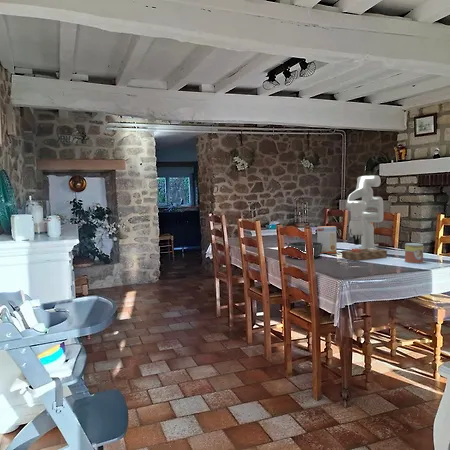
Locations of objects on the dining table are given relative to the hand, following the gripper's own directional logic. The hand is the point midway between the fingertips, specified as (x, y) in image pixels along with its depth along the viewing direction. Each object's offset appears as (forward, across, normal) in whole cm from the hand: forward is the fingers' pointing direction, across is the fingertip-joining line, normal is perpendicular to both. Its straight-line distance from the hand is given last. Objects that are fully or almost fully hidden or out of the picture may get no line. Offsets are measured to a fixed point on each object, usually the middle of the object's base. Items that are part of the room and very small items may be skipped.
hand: (356, 244), depth 296 cm
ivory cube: (+9, -13, +1) cm, 16 cm away
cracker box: (+11, +5, -29) cm, 32 cm away
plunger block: (+10, -6, +1) cm, 12 cm away
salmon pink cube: (+8, +1, +1) cm, 8 cm away
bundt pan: (+10, +28, -24) cm, 38 cm away
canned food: (+10, -24, +29) cm, 39 cm away
